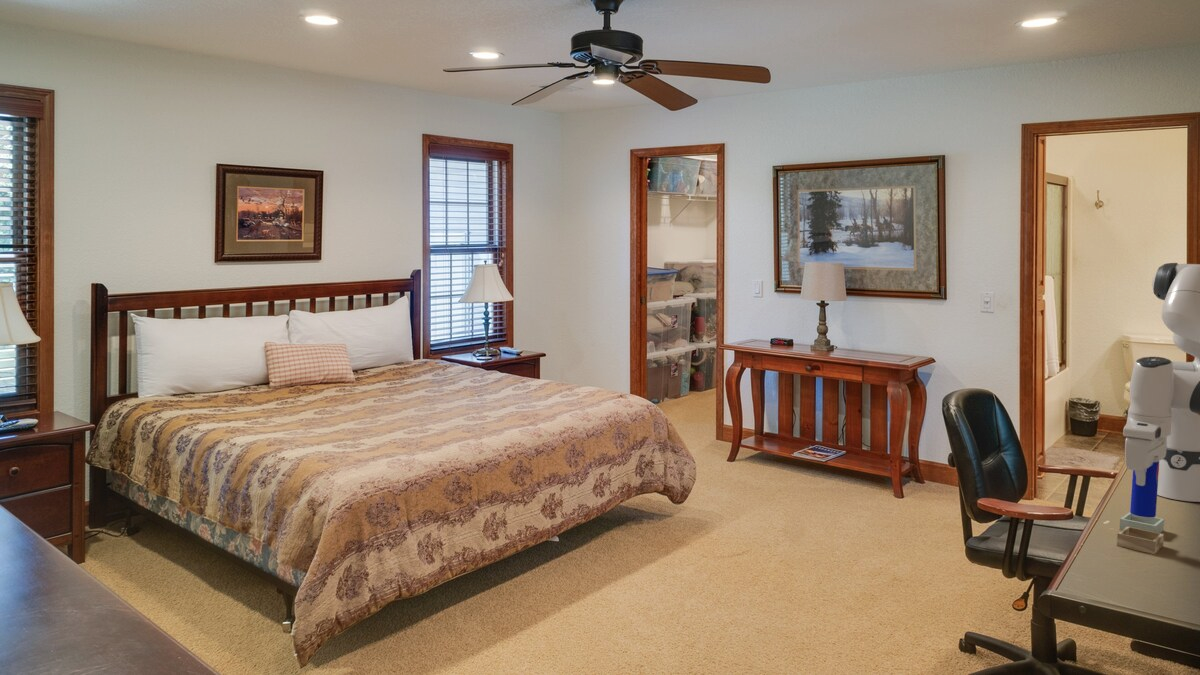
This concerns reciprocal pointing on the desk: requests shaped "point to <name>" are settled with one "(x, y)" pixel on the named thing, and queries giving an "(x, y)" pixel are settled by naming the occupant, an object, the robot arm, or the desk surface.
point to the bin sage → (1142, 523)
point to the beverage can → (1145, 493)
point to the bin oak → (1140, 540)
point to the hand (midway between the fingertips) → (1145, 482)
